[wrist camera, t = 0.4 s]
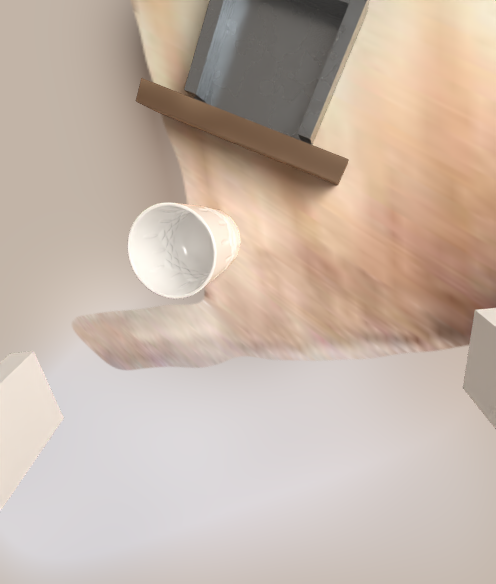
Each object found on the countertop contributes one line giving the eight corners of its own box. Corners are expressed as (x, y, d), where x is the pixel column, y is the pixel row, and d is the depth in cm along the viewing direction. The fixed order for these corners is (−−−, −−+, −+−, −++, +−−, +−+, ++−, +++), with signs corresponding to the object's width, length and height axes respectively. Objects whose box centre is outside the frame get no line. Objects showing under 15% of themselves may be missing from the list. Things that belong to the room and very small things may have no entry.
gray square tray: (236, -33, 31) (226, -57, 28) (367, 11, 30) (370, -9, 27) (195, 104, 35) (182, 95, 32) (310, 149, 34) (307, 144, 31)
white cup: (177, 271, 40) (128, 293, 30) (177, 200, 38) (125, 199, 28) (244, 279, 38) (214, 304, 29) (248, 205, 36) (217, 205, 27)
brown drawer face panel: (162, 91, 35) (141, 77, 32) (347, 164, 33) (348, 159, 29) (156, 111, 36) (135, 101, 32) (337, 185, 34) (338, 182, 30)
